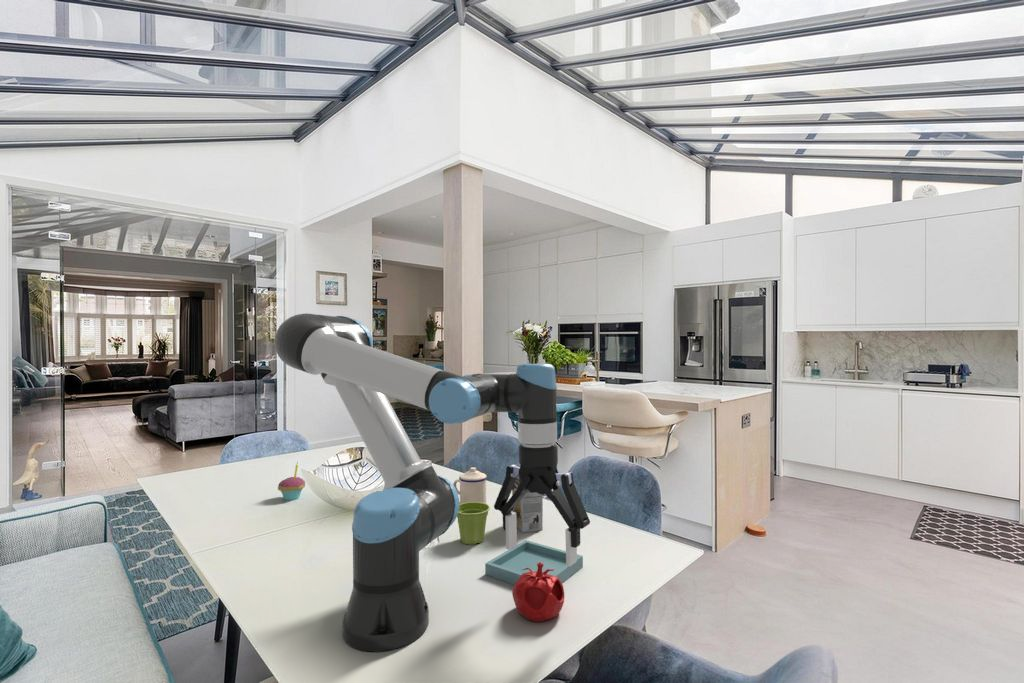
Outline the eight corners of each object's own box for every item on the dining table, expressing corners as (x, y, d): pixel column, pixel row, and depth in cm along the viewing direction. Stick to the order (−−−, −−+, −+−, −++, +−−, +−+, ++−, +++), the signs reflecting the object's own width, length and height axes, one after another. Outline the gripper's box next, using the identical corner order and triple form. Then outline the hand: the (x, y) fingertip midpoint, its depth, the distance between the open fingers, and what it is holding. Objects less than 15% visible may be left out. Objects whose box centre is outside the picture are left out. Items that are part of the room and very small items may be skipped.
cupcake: (296, 493, 169) (297, 459, 169) (310, 497, 164) (310, 462, 164) (272, 499, 162) (273, 463, 162) (286, 504, 157) (286, 467, 157)
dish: (546, 595, 97) (546, 583, 98) (485, 574, 107) (485, 563, 107) (582, 566, 110) (582, 555, 110) (525, 550, 120) (525, 540, 120)
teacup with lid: (491, 501, 159) (491, 466, 159) (478, 509, 150) (478, 472, 151) (460, 496, 164) (460, 462, 164) (446, 504, 156) (446, 468, 156)
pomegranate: (505, 606, 94) (504, 558, 94) (551, 595, 98) (549, 549, 98) (525, 632, 85) (524, 579, 85) (574, 619, 89) (573, 568, 89)
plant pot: (484, 549, 121) (484, 514, 121) (449, 546, 123) (449, 512, 123) (493, 535, 130) (493, 503, 130) (460, 532, 132) (460, 501, 132)
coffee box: (511, 521, 140) (511, 466, 140) (532, 519, 142) (531, 464, 142) (521, 533, 131) (521, 474, 131) (543, 530, 133) (543, 472, 133)
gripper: (606, 446, 88) (609, 563, 87) (498, 435, 102) (500, 535, 102) (587, 454, 82) (590, 579, 81) (475, 440, 96) (477, 547, 96)
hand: (540, 555), depth 91 cm, fingers open, 13 cm apart
